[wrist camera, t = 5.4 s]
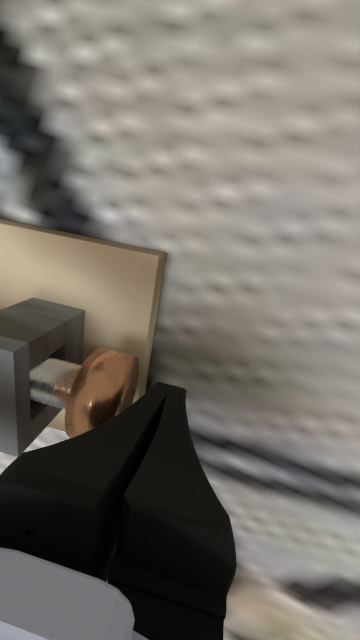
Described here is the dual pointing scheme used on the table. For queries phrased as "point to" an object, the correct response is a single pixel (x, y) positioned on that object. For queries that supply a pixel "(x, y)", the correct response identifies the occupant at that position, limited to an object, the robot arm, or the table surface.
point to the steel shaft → (86, 387)
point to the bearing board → (87, 286)
